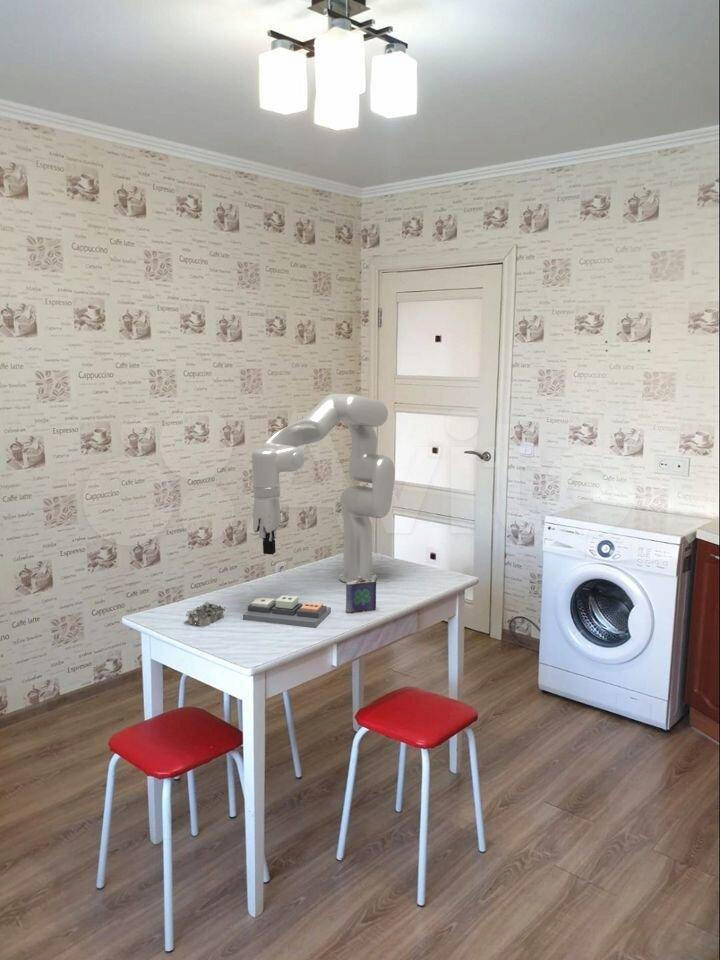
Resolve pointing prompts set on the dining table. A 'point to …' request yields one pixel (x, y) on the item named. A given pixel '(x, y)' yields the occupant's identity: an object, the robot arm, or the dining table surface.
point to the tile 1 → (263, 602)
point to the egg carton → (205, 614)
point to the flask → (361, 595)
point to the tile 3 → (311, 607)
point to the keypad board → (286, 615)
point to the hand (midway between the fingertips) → (269, 553)
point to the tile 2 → (287, 602)
